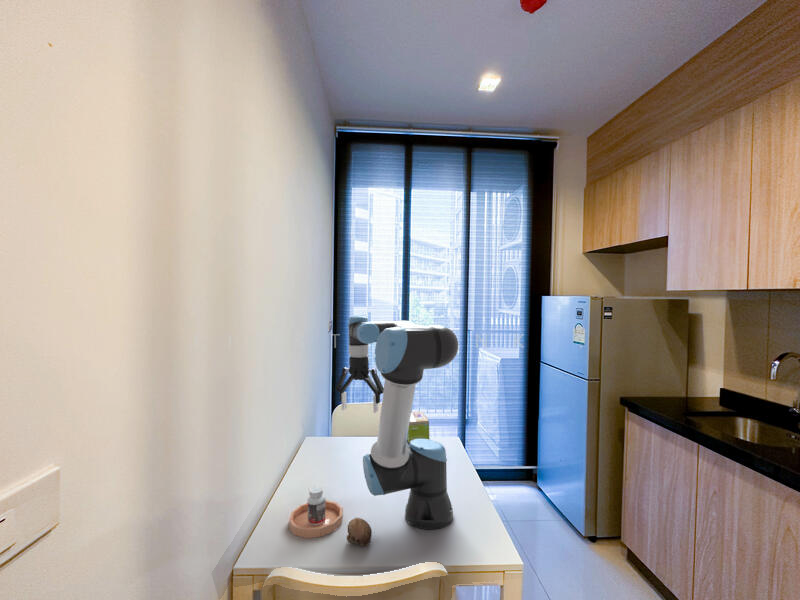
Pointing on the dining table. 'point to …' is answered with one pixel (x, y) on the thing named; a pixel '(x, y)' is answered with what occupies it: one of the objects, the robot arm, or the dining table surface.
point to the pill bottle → (316, 507)
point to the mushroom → (359, 532)
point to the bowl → (332, 522)
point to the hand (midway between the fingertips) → (359, 410)
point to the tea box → (417, 427)
